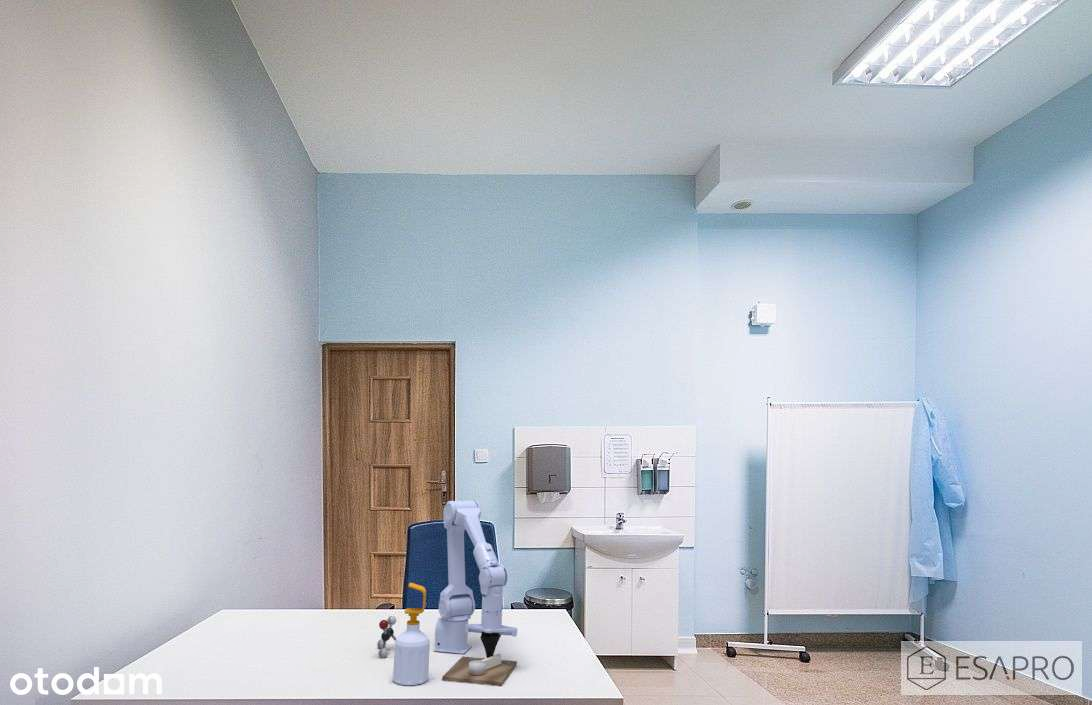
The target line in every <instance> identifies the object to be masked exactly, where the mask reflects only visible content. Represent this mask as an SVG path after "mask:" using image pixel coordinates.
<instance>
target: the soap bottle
mask: <svg viewBox="0 0 1092 705" xmlns="http://www.w3.org/2000/svg"><path fill="white" fill-rule="evenodd" d="M408 588H410V589H413V590H417V591H420V592H421V593H422V595H423V599H422V600H423V601H422V607H421V608H418V607H417V608H414V607H413V608H408V607H407V608H405V609H404V614H408V616H409V617H410V618H409V619H410V620H407V621H406V630H405V631H403V632H401V633H400V634H399V635H398V636H397V637H396V640H394V651H393V653H394V654H393V668H392V669H393V671H392V672H393V673H392V674H393V675H392V679H393V682H394V683H395V684H396V685H400V686H406V685H412V686H417V685H418V684H419V685H421V684H424V683H426V682H427V681H428V679H429V672H430V671H429V669H430V668H429V667H430V666H429V665H430V651H431V650H430V648H431V647H430V645H431V641H430V638H429V636H428V635H427V634H426V633H424V632H423V631H421V630H420V627H421V626H420V622H421V621H420V620H418V617H419V615H420V614H423V612H424V611H425V608H426V602H427V590H426V587H424V586H423V585H420V584H417V583H414V582H409V584H408Z"/></svg>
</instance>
